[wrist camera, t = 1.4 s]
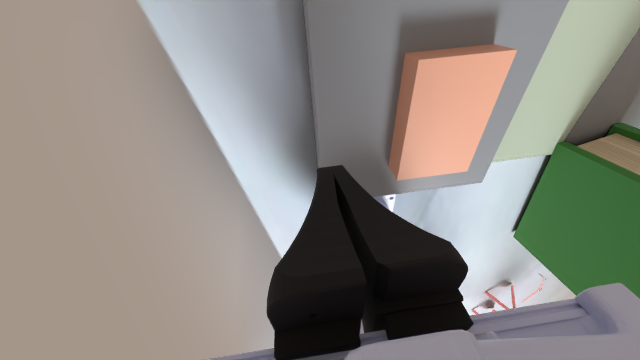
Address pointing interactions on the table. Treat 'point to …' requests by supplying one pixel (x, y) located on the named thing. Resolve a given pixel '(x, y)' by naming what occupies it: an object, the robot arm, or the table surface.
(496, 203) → the table surface
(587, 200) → the hardback book
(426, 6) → the block
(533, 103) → the sage mat
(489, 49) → the terracotta tile
